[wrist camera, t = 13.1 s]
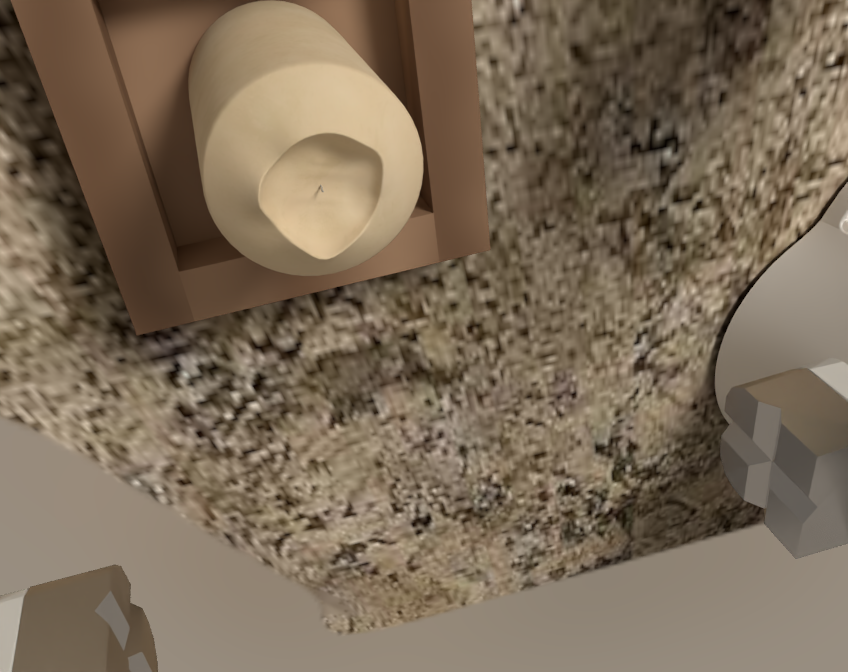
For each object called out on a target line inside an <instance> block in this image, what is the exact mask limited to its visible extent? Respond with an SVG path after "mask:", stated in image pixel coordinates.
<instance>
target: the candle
mask: <svg viewBox="0 0 848 672" xmlns="http://www.w3.org/2000/svg"><path fill="white" fill-rule="evenodd" d="M188 88H189V101H190V107H191V114H192V121H193V127H194V134H195V141H196V147H197V154H198V161H199V168H200V174H201V181H202V187H203V193H204V197H205V201H206V204H207V207H208V210H209V212H210V214H211V216H212V219H213V221H214V223H215V224H216V226H217V227H218V229H219V230H220V232H221V233H222V235H223V236H224V237H225V238H226V239H227V240H228V242H229V243H230V244H231V245H232V246H233V247H235V248H236V249H237V250H238V251H239V252H240V253H241V254H243V255H244V256H246V257H247V258H249V259H250V260H252V261H253V262H255V263H257V264H259V265H261V266H263V267H266V268H269V269H271V270H274V271H277V272H281V273H286V274H290V275H300V276H319V275H327V274H333V273H337V272H340V271H344V270H347V269H350V268H352V267H355V266H357V265H359V264H361V263H363V262H365V261H367V260H369V259H370V258H372V257H373V256H375V255H376V254H378V253H379V252H380V251H382V250H383V249H384V248H385V247H386V246H387V245H388V244H390V243H391V242H392V240H393V239H394V238H395V237H396V236H397V235H398V234H399V233H400V231H401V230H402V228H403V227H404V226H405V224H406V223H407V221H408V219H409V218H410V216H411V214H412V212H413V210H414V208H415V205H416V203H417V200H418V197H419V193H420V190H421V186H422V178H423V153H422V146H421V142H420V138H419V135H418V131H417V129H416V127H415V124H414V122H413V120H412V118H411V116H410V115H409V113H408V111H407V110H406V108H405V106H404V105H403V104H402V103H401V102H400V100H399V99H398V98H397V97H396V96H395V94H394V93H393V92H392V91H391V90H390V89H389V88H388V87H387V85H386V84H385V83H384V82H383V81H382V80H381V79H380V78H379V77H378V76H377V74H376V73H375V72H374V71H373V70H372V69H371V68H370V67H369V66H368V65H367V63H366V62H365V61H364V60H363V59H362V58H361V57H360V56H359V55H358V54H357V52H356V51H355V50H354V49H353V48H352V47H351V46H350V45H349V44H348V43H347V41H346V40H345V39H344V38H343V37H342V36H341V35H340V34H339V33H338V32H337V31H336V30H335V29H334V28H333V27H332V26H331V25H330V24H329V23H328V22H327V21H326V20H325V19H323V18H322V17H320V16H319V15H317V14H316V13H314V12H313V11H311V10H309V9H307V8H305V7H302V6H299V5H297V4H294V3H289V2H285V1H275V0H265V1H256V2H251V3H247V4H244V5H241V6H238V7H236V8H234V9H232V10H230V11H228V12H227V13H225V14H224V15H222V16H221V17H220V18H218V19H217V20H216V21H215V22H214V23H213V24H212V25H211V26H210V27H209V28H208V30H207V31H206V32H205V33H204V35H203V36H202V38H201V39H200V41H199V43H198V45H197V46H196V49H195V51H194V54H193V56H192V60H191V64H190V68H189V77H188Z"/></svg>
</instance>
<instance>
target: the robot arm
mask: <svg viewBox="0 0 848 672" xmlns="http://www.w3.org/2000/svg"><path fill="white" fill-rule="evenodd" d="M715 391H716V397H717V402H718V405H719V408H720V410H721V412H722V414H723V416H724V418H725V419H726V421H727V422H728V423H729V424H730V425H729V426H728V427H727V429H726V430H725V431H724V433H723V434H722V436H721V446H720V457H721V461H722V464H723V468H724V472H725V474H726V476H727V478H728V480H729V481H730V483H731V485H732V487H733V488H734V489H735V490H736V492H737V493H738V494H739V495H740V496H741V498H742V499H743V500H744V501H747V502H749V503H752V504H754V505H757V506H759V507H761V508H764V524H765V525H766V526H767V527H768V528H769V529H770V530H771V532H772V533H773V534H774V535H775V536H776V537H777V538H778V539H779V541H780V542H781V543H782V544H783V545H784V546H785V547H786V549H787V550H788V551H789V552H790V553H791V554H792V555H793V556H794V558H795V559H797V558H801V557H804V556H807V555H811V554H814V553H818V552H821V551H824V550H828V549H831V548H834V547H838V546H841V545H844V544H847V543H848V182H847V183H846V185H845V186H844V187H843V189H842V190H841V191H840V193H839V194H838V195H837V197H836V198H835V200H834V201H833V202H832V204H831V205H830V207H829V208H828V210H827V211H826V213H825V214H824V216H823V217H822V219H821V220H820V221H819V222H818V223H817V224H816V225H815V226H814V228H813V229H811V230H810V231H809V232H808V233H807V234H806V235H805V236H804V237H803V238H801V239H800V240H799V241H798V242H797V243H795V244H794V245H793V246H792V247H791V248H790V249H788V250H787V251H786V252H785V253H784V254H783V255H782V256H781V257H779V258H778V259H777V260H776V261H775V262H774V263H773V264H772V265H771V266H770V267H769V268H768V269H767V271H766V272H765V273H764V274H763V275H762V276H761V277H760V278H759V280H758V281H757V282H756V283H755V285H754V286H753V287H752V288H751V290H750V291H749V292H748V294H747V295H746V297H745V298H744V300H743V301H742V303H741V304H740V306H739V307H738V309H737V311H736V313H735V314H734V316H733V318H732V320H731V322H730V324H729V326H728V328H727V331H726V333H725V335H724V338H723V341H722V344H721V347H720V350H719V354H718V358H717V363H716V370H715ZM130 589H131V584H130V582H129V580H128V579H127V576H126V575H125V573H124V571H123V569H122V567H121V566H118V565H112V566H108V567H105V568H100V569H97V570H93V571H89V572H85V573H81V574H77V575H74V576H70V577H66V578H62V579H58V580H55V581H51V582H47V583H43V584H39V585H36V586H32V587H30V588H28V589H24V590H21V591H17V592H13V593H9V594H5V595H1V596H0V672H158V663H157V656H156V650H155V644H154V638H153V635H152V632H151V629H150V625H149V622H148V620H147V618H146V615H145V613H144V611H143V609H142V608H141V607H138V606H136V605H134V604H132V603H130Z"/></svg>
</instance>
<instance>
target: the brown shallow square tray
mask: <svg viewBox="0 0 848 672" xmlns="http://www.w3.org/2000/svg"><path fill="white" fill-rule="evenodd" d="M256 1H265V0H11V3H12V5H13V8H14V11H15V13H16V16H17V19H18V21H19V24H20V27H21V29H22V32H23V34H24V37H25V40H26V42H27V45H28V48H29V50H30V53H31V56H32V58H33V61H34V64H35V66H36V69H37V72H38V74H39V77H40V80H41V82H42V85H43V88H44V90H45V93H46V96H47V98H48V101H49V103H50V106H51V109H52V111H53V114H54V117H55V119H56V122H57V125H58V127H59V130H60V133H61V135H62V138H63V141H64V143H65V146H66V149H67V151H68V154H69V157H70V159H71V162H72V165H73V167H74V170H75V172H76V175H77V178H78V180H79V183H80V186H81V188H82V191H83V194H84V196H85V199H86V202H87V204H88V207H89V210H90V212H91V215H92V218H93V220H94V223H95V226H96V228H97V231H98V234H99V236H100V239H101V241H102V244H103V247H104V249H105V252H106V255H107V257H108V260H109V263H110V265H111V268H112V271H113V273H114V276H115V279H116V281H117V284H118V287H119V289H120V292H121V295H122V297H123V300H124V302H125V305H126V308H127V310H128V313H129V316H130V318H131V321H132V324H133V326H134V329H135V332H136V334H137V335H141V334H145V333H150V332H154V331H158V330H162V329H166V328H170V327H174V326H178V325H183V324H187V323H191V322H195V321H199V320H203V319H207V318H211V317H216V316H220V315H224V314H228V313H232V312H236V311H240V310H245V309H249V308H253V307H257V306H261V305H265V304H269V303H273V302H278V301H282V300H286V299H290V298H294V297H298V296H302V295H306V294H311V293H315V292H319V291H323V290H327V289H331V288H335V287H339V286H344V285H348V284H352V283H356V282H360V281H364V280H368V279H373V278H377V277H381V276H385V275H389V274H393V273H397V272H401V271H406V270H410V269H414V268H418V267H422V266H426V265H430V264H434V263H439V262H443V261H447V260H451V259H455V258H459V257H463V256H468V255H472V254H476V253H480V252H484V251H488V250H490V238H489V225H488V212H487V199H486V186H485V173H484V160H483V146H482V133H481V120H480V107H479V94H478V81H477V68H476V55H475V42H474V28H473V15H472V2H471V0H275V1H285V2H289V3H294V4H297V5H299V6H302V7H305V8H307V9H309V10H311V11H313V12H314V13H316V14H317V15H319V16H320V17H322V18H323V19H325V20H326V21H327V22H328V23H329V24H330V25H331V26H332V27H333V28H334V29H335V30H336V31H337V32H338V33H339V34H340V35H341V36H342V37H343V38H344V39H345V40H346V41H347V43H348V44H349V45H350V46H351V47H352V48H353V49H354V50H355V51H356V52H357V54H358V55H359V56H360V57H361V58H362V59H363V60H364V61H365V62H366V63H367V65H368V66H369V67H370V68H371V69H372V70H373V71H374V72H375V73H376V74H377V76H378V77H379V78H380V79H381V80H382V81H383V82H384V83H385V84H386V85H387V87H388V88H389V89H390V90H391V91H392V92H393V93H394V94H395V96H396V97H397V98H398V99H399V100H400V102H401V103H402V104H403V105H404V106H405V108H406V110H407V111H408V113H409V115H410V116H411V118H412V120H413V122H414V124H415V127H416V129H417V131H418V135H419V138H420V142H421V146H422V153H423V178H422V186H421V190H420V193H419V197H418V200H417V203H416V205H415V208H414V210H413V212H412V214H411V216H410V218H409V219H408V221H407V223H406V224H405V226H404V227H403V228H402V230H401V231H400V233H399V234H398V235H397V236H396V237H395V238H394V239H393V240H392V242H391V243H390V244H388V245H387V246H386V247H385V248H384V249H383V250H382V251H380V252H379V253H378V254H376V255H375V256H373V257H372V258H370V259H369V260H367V261H365V262H363V263H361V264H359V265H357V266H355V267H352V268H350V269H347V270H344V271H340V272H337V273H333V274H327V275H319V276H300V275H290V274H286V273H281V272H277V271H274V270H271V269H269V268H266V267H263V266H261V265H259V264H257V263H255V262H253V261H252V260H250V259H249V258H247V257H246V256H244V255H243V254H241V253H240V252H239V251H238V250H237V249H236V248H235V247H233V246H232V245H231V244H230V243H229V242H228V240H227V239H226V238H225V237H224V236H223V235H222V233H221V232H220V230H219V229H218V227H217V226H216V224H215V223H214V221H213V219H212V216H211V214H210V212H209V210H208V207H207V204H206V201H205V197H204V193H203V187H202V181H201V174H200V168H199V161H198V154H197V147H196V141H195V134H194V127H193V121H192V114H191V107H190V101H189V88H188V77H189V68H190V64H191V60H192V56H193V54H194V51H195V49H196V46H197V45H198V43H199V41H200V39H201V38H202V36H203V35H204V33H205V32H206V31H207V30H208V28H209V27H210V26H211V25H212V24H213V23H214V22H215V21H216V20H217V19H218V18H220V17H221V16H222V15H224V14H225V13H227V12H228V11H230V10H232V9H234V8H236V7H238V6H241V5H244V4H247V3H251V2H256Z"/></svg>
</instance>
